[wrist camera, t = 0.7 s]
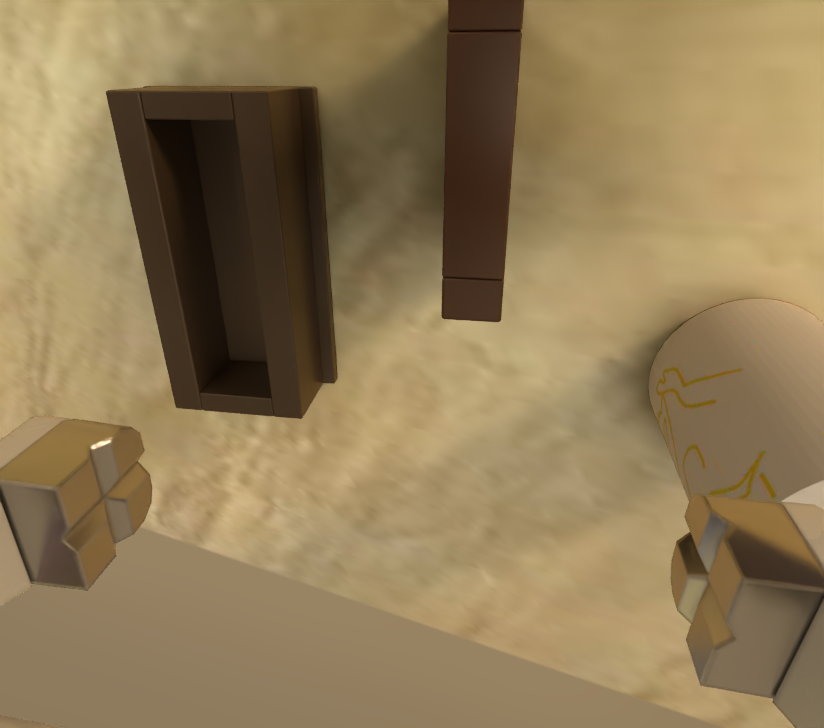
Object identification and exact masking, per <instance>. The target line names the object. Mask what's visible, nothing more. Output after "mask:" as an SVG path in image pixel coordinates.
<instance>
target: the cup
mask: <svg viewBox="0 0 824 728" xmlns="http://www.w3.org/2000/svg"><path fill="white" fill-rule="evenodd" d="M648 386H649V397H650V402H651V405H652V408H653V410H654V413H655V415H656V418H657V420H658V423H659V426H660V428H661V431H662V433H663V436H664V438H665V441H666V444H667V446H668V449H669V451H670V454H671V456H672V459H673V461H674V464H675V467H676V469H677V472H678V474H679V477H680V479H681V482H682V484H683V487H684V490H685V492H686V495H687V497H688V500H689V502H690V500H691V499H692V497H693V496H694V495H695V494H704V495H713V496H722V497H731V498H740V499H749V500H758V501H767V502H774V501H780V502H791V503H802V504H813V505H817V506H818V507H820V508H821V509H823V510H824V324H823V323H822V322H821V321H820V320H819V319H817V318H816V317H815V316H814V315H812V314H811V313H809V312H808V311H806V310H804V309H802V308H800V307H798V306H796V305H793V304H790V303H787V302H783V301H778V300H772V299H744V300H737V301H732V302H728V303H724V304H721V305H718V306H715V307H712V308H710V309H708V310H705V311H703V312H701V313H699V314H698V315H696V316H694V317H693V318H691V319H689V320H688V321H687V322H685V323H684V324H683V325H681V326H680V327H679V328H678V329H677V330H676V331H675V332H673V333H672V334H671V336H670V337H669V338H668V339H667V340H666V341H665V343H664V344H663V345H662V347H661V348H660V350H659V352H658V353H657V355H656V357H655V359H654V362H653V364H652V367H651V371H650V375H649V384H648Z"/></svg>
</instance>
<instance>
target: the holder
mask: <svg viewBox="0 0 824 728" xmlns="http://www.w3.org/2000/svg"><path fill="white" fill-rule="evenodd" d="M106 95H107V99H108V104H109V108H110V113H111V117H112V122H113V126H114V131H115V135H116V140H117V144H118V149H119V153H120V158H121V162H122V167H123V171H124V176H125V180H126V185H127V189H128V194H129V198H130V203H131V207H132V212H133V216H134V221H135V225H136V230H137V234H138V239H139V243H140V248H141V252H142V257H143V261H144V266H145V270H146V275H147V279H148V284H149V288H150V293H151V297H152V302H153V306H154V311H155V315H156V320H157V324H158V329H159V333H160V338H161V342H162V347H163V351H164V356H165V360H166V365H167V369H168V374H169V378H170V383H171V387H172V392H173V396H174V401H175V405H176V408H183V409H195V410H202V409H203V410H205V411H216V412H228V413H240V414H252V415H264V416H275V417H287V418H298V419H302V418H303V416H304V414H305V413H306V411H307V409H308V408H309V406H310V404H311V403H312V401H313V399H314V398H315V396H316V394H317V393H318V391H319V389H320V387H321V386H322V384H323V383H335V382H336V380H337V366H336V352H335V338H334V324H333V310H332V296H331V282H330V268H329V254H328V239H327V225H326V211H325V197H324V183H323V169H322V155H321V141H320V127H319V113H318V99H317V88H316V87H292V86H145V87H143V88H133V89H120V90H108V91H106Z"/></svg>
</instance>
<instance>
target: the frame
mask: <svg viewBox="0 0 824 728" xmlns="http://www.w3.org/2000/svg"><path fill="white" fill-rule="evenodd" d="M523 9H524V0H448V31H450V32H448V35H447V82H446V128H445V175H444V221H443V268H442V275H443V279H442V318H443V319H454V320H471V321H488V322H500V320H501V313H502V299H503V285H504V271H505V258H506V244H507V230H508V216H509V202H510V189H511V175H512V161H513V147H514V133H515V120H516V106H517V92H518V78H519V64H520V51H521V37H522V33H521V31H522V23H523Z"/></svg>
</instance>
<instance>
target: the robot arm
mask: <svg viewBox="0 0 824 728" xmlns="http://www.w3.org/2000/svg"><path fill="white" fill-rule="evenodd" d="M144 451H145V450H144V447H143V443H142V439H141V435H140V432H138V431H137V430H135V429H133V428H132V427H128V426H121V425H114V424H107V423H100V422H92V421H85V420H78V419H69V418H62V417H54V416H45V415H44V416H37V417H32V418H30V419H29V420H28V421H26V422H25V423H23V424H22V425H21V426H19V427H18V428H16V429H15V430H14V431H12V432H11V433H9V434H8V435H7V436H5V437H4V438H2V439H1V440H0V606H2V605H3V604H5V603H7V602H8V601H10V600H11V599H13V598H15V597H16V596H18V595H20V594H21V593H23V592H24V591H26V590H28V589H29V588H31V587H32V585H31V584H38V585H46V586H54V587H63V588H70V589H78V590H89V588H90V587H91V586H92V585H93V584H94V582H95V581H96V580H97V579H98V578H99V576H100V575H101V574H102V573H103V571H104V570H105V569H106V568H107V567H108V565H109V564H110V563H111V562H112V560H113V559H114V558H115V557H116V543H118V542H120V541H122V540H124V539H126V538H127V537H129V536H131V535H133V534H134V533H135V532H136V531H137V529H138V528H139V527H140V526H141V524H142V523H143V522H144V520H145V518H146V515H147V513H148V510H149V507H150V505H151V501H152V484H151V479H150V474H149V473H148V472H147V471H146V470H145V469H144V468H143V466H142V465H141V464H140V463H139V462H138V460H139V459H140V457H141V456H142V454H143V452H144ZM684 517H685V519H686V522H687V525H688V527H689V530H690V532H689V533H688V534H686V535H685V536H683V537H682V538H680V539H679V540H678V541H677V542H676V546H675V549H674V553H673V557H672V563H671V585H672V593H673V597H674V601H675V604H676V608H677V611H678V612H679V613H680V614H681V615H683V616H684V617H685V618H686V619H687V620H688V621H689V622H690V623H691V626H690V629H689V632H688V635H687V638H686V641H687V644H688V647H689V650H690V653H691V657H692V660H693V663H694V666H695V669H696V672H697V676H698V679H699V682H700V685H701V686H707V687H712V688H718V689H723V690H729V691H734V692H740V693H745V694H751V695H756V696H762V697H767V698H773V699H774V700H773V703H774V704H775V705H776V706H777V708H778V709H779V710H780V711H781V712H782V713H783V714H784V715H785V717H786V718H787V719H788V720H789V721H790V722H791V723H792V724H793V726H794V727H795V728H824V510H823V509H821V508H820V507H818V506H817V505H813V504H802V503H791V502H780V501H774V502H767V501H758V500H749V499H740V498H731V497H722V496H713V495H704V494H695V495H694V496H693V497H692V499H691V500H690V502H689V504H688V507H687V510H686V513H685V516H684ZM0 728H67V727H61V726H56V725H51V724H45V723H40V722H34V721H29V720H23V719H18V718H13V717H8V716H2V715H0Z"/></svg>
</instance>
